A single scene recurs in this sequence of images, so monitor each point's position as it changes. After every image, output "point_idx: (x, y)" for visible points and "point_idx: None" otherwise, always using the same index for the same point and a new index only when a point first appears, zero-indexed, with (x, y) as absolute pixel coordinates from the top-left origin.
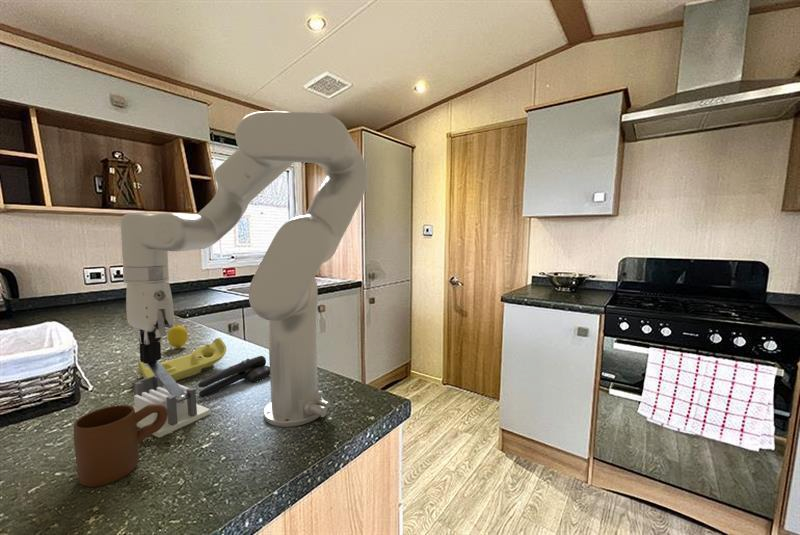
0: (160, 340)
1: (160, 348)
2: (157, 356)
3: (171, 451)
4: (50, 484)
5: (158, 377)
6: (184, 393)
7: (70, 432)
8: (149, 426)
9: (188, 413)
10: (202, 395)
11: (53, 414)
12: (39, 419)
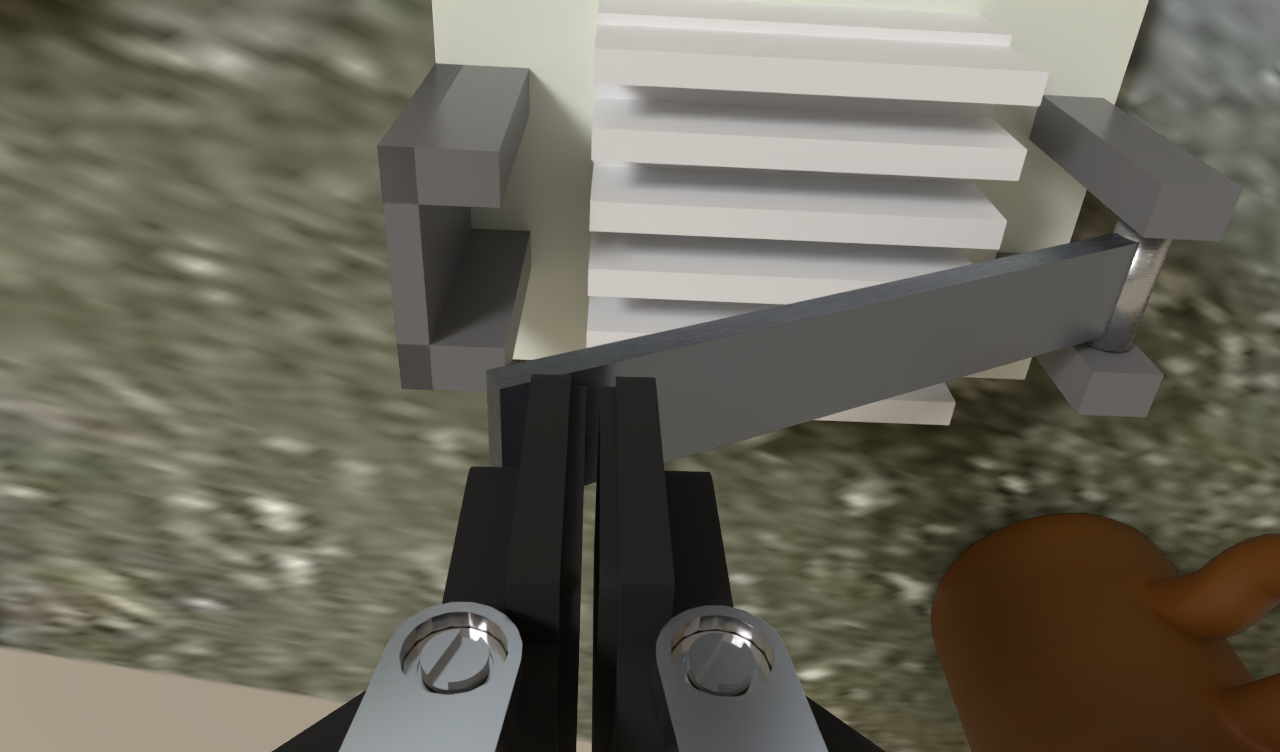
0: (776, 650)
1: (664, 480)
2: (711, 480)
3: (1221, 398)
4: (868, 704)
5: (832, 407)
6: (1129, 252)
7: (410, 540)
8: (1265, 613)
9: (1040, 143)
10: None
11: (4, 503)
12: (32, 557)
